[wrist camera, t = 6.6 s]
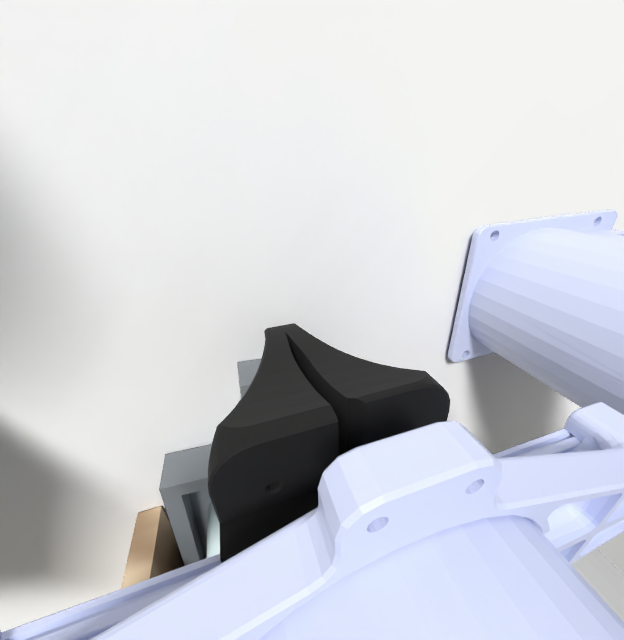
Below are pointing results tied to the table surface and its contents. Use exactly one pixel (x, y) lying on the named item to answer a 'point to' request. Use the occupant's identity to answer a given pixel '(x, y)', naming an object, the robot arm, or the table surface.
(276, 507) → the robot arm
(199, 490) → the tray
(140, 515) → the wood grain block
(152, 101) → the table surface
